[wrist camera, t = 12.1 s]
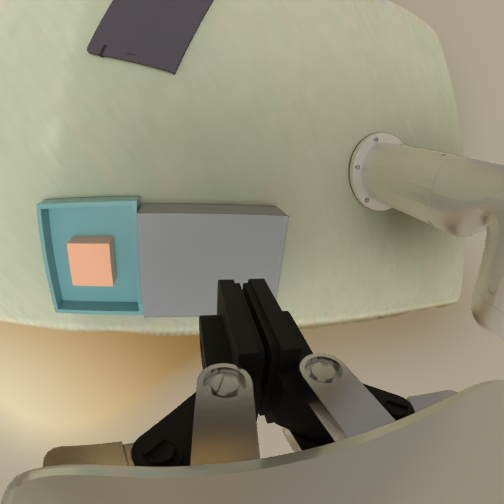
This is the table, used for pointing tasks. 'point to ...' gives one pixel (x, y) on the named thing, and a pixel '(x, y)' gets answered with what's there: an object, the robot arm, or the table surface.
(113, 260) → the terracotta block
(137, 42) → the notebook
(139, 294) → the tray
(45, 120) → the table surface
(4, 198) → the table surface
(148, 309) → the slate bench plate
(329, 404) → the robot arm
